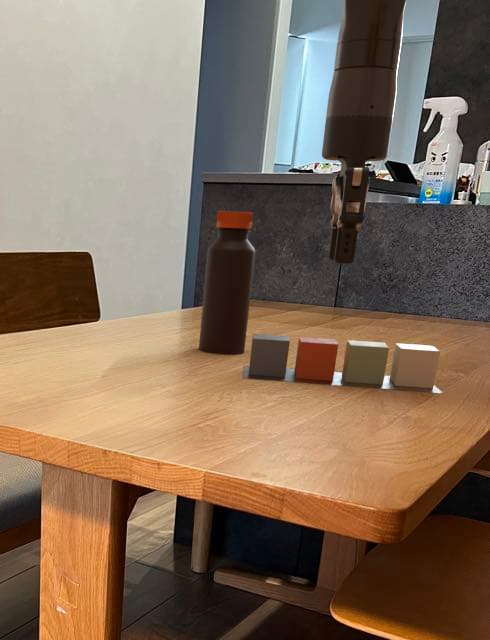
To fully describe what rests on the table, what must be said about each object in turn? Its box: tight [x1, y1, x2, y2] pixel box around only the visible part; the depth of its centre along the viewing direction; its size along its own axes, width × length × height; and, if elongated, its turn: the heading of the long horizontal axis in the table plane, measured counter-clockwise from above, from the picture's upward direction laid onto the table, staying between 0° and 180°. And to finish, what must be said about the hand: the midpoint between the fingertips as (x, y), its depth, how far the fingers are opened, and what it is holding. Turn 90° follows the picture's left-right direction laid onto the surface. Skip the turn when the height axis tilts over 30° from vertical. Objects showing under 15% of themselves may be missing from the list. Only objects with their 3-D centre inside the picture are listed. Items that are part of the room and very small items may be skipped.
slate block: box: [248, 333, 291, 378], centre depth 110 cm, size 5×5×5 cm
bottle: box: [198, 210, 256, 356], centre depth 125 cm, size 7×7×20 cm
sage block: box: [342, 339, 390, 385], centre depth 109 cm, size 5×5×5 cm
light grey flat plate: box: [242, 365, 444, 395], centre depth 110 cm, size 24×10×1 cm, turn 79°
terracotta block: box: [294, 336, 339, 381], centre depth 109 cm, size 5×5×5 cm
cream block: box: [389, 342, 441, 389], centre depth 108 cm, size 5×5×5 cm
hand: (340, 261), depth 106 cm, fingers open, 8 cm apart
